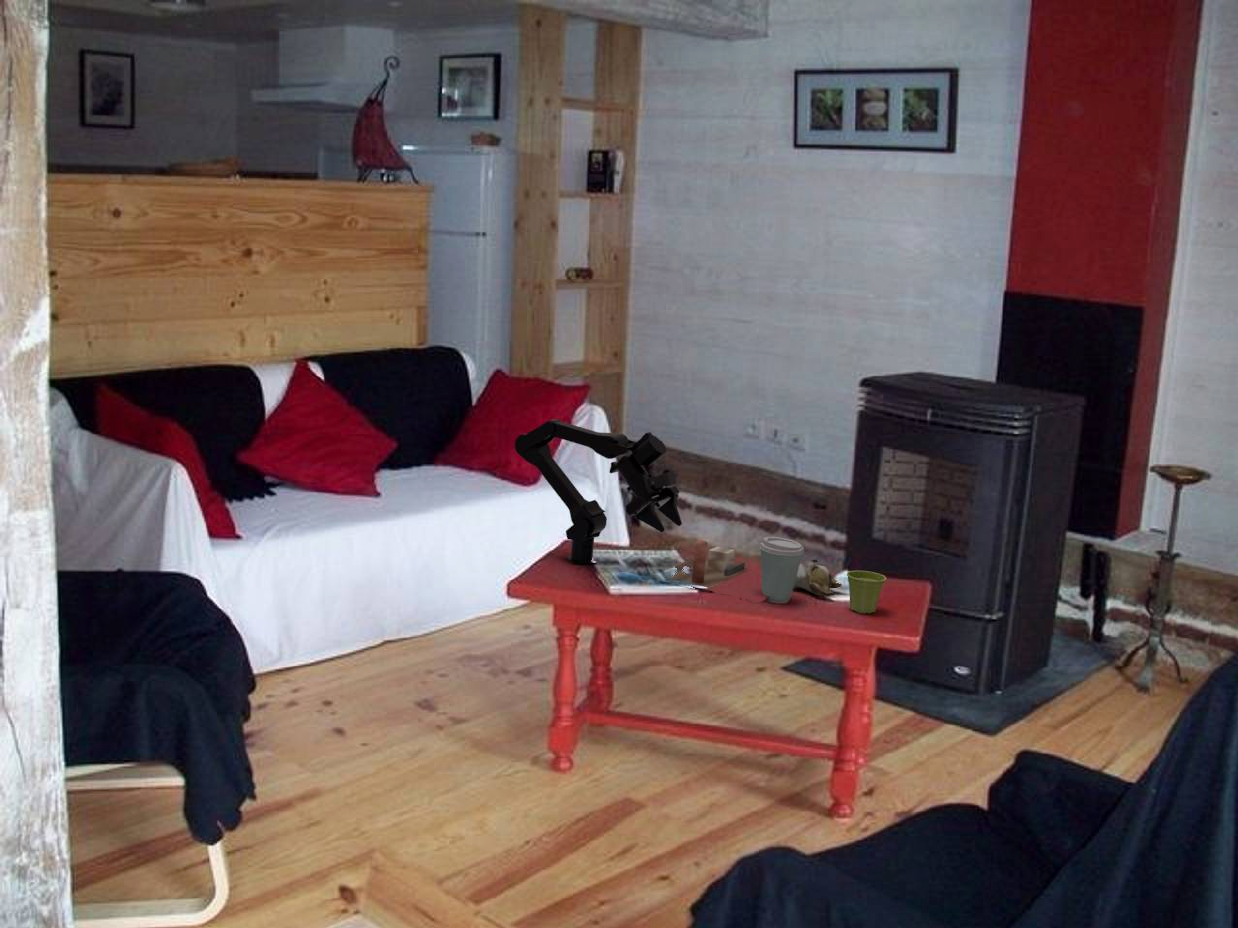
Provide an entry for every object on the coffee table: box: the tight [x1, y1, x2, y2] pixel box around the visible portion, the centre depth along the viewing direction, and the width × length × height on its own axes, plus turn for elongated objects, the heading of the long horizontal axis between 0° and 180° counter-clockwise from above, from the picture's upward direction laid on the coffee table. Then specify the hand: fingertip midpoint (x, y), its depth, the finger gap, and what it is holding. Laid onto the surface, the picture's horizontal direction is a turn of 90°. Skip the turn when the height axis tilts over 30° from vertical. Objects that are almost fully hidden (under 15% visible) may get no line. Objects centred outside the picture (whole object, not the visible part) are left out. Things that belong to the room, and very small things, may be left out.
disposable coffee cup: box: [759, 536, 805, 605], centre depth 345 cm, size 11×11×15 cm
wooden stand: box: [667, 540, 752, 593], centre depth 360 cm, size 16×24×11 cm, turn 151°
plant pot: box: [846, 570, 887, 614], centre depth 343 cm, size 9×9×9 cm
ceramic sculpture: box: [793, 559, 842, 597], centre depth 356 cm, size 11×9×15 cm
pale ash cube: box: [707, 546, 736, 573], centre depth 365 cm, size 5×5×5 cm
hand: (672, 528), depth 354 cm, fingers open, 9 cm apart
